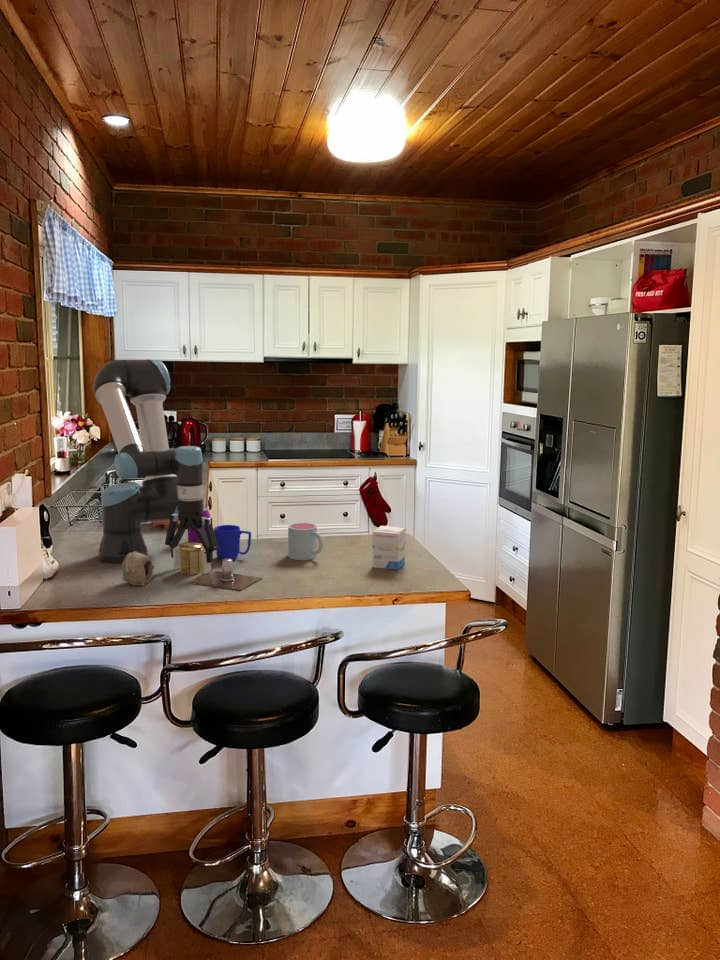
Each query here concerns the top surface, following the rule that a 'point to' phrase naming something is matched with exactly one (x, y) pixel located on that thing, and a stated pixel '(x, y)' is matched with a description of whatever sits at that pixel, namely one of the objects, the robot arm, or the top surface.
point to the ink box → (388, 547)
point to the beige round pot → (137, 569)
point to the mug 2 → (303, 541)
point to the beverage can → (191, 534)
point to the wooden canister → (191, 558)
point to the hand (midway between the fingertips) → (192, 570)
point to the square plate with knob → (227, 578)
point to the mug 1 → (229, 541)
